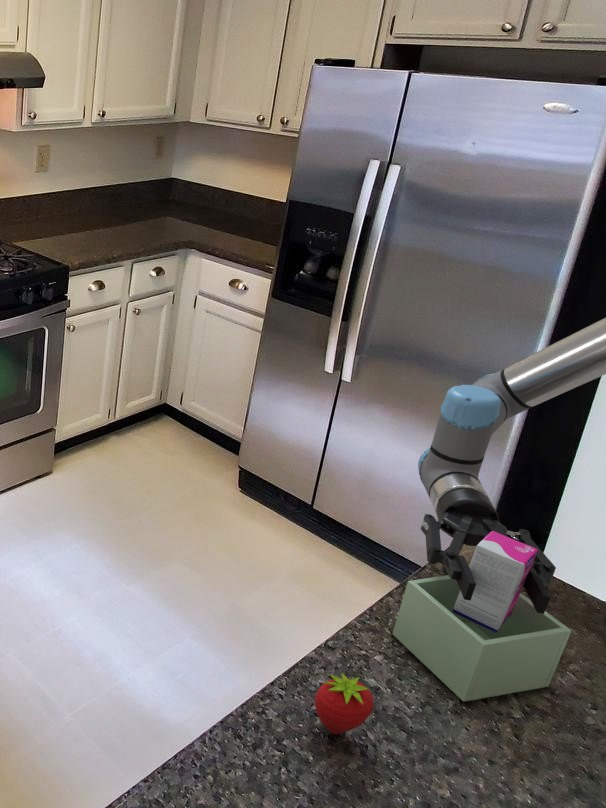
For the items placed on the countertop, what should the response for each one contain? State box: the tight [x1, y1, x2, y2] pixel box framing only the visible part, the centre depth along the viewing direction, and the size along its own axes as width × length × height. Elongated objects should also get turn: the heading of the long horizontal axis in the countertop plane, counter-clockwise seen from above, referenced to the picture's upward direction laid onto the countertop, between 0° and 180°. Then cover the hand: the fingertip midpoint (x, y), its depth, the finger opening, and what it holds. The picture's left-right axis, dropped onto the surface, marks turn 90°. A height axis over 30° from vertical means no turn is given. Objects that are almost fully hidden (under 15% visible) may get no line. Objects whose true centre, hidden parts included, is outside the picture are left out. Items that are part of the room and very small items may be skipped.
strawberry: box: [314, 672, 374, 735], centre depth 100 cm, size 6×8×10 cm
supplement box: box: [452, 531, 538, 632], centre depth 108 cm, size 6×6×12 cm
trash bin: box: [392, 574, 572, 703], centre depth 112 cm, size 14×14×10 cm
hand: (506, 598), depth 104 cm, fingers closed on supplement box, 8 cm apart
